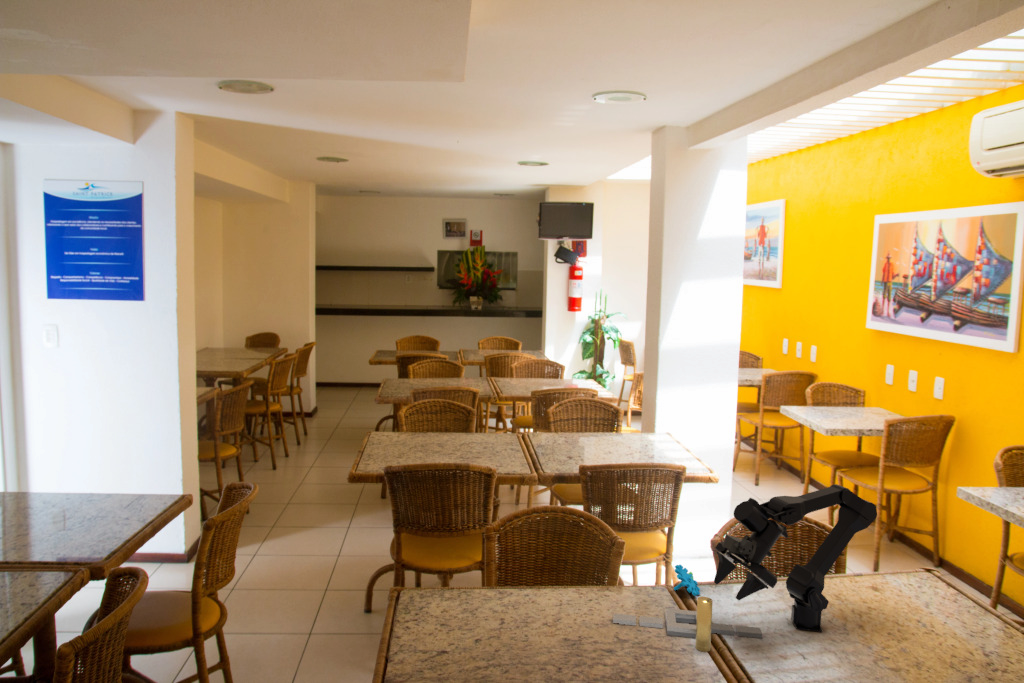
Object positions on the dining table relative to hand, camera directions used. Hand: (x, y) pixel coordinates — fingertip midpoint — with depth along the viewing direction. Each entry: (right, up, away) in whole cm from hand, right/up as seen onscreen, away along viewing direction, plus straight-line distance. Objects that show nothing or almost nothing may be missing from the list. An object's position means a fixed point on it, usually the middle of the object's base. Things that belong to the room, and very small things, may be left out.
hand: (726, 591), depth 178 cm
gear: (-3, -10, +28) cm, 30 cm away
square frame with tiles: (-8, -12, +7) cm, 16 cm away
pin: (-7, -13, -3) cm, 15 cm away
